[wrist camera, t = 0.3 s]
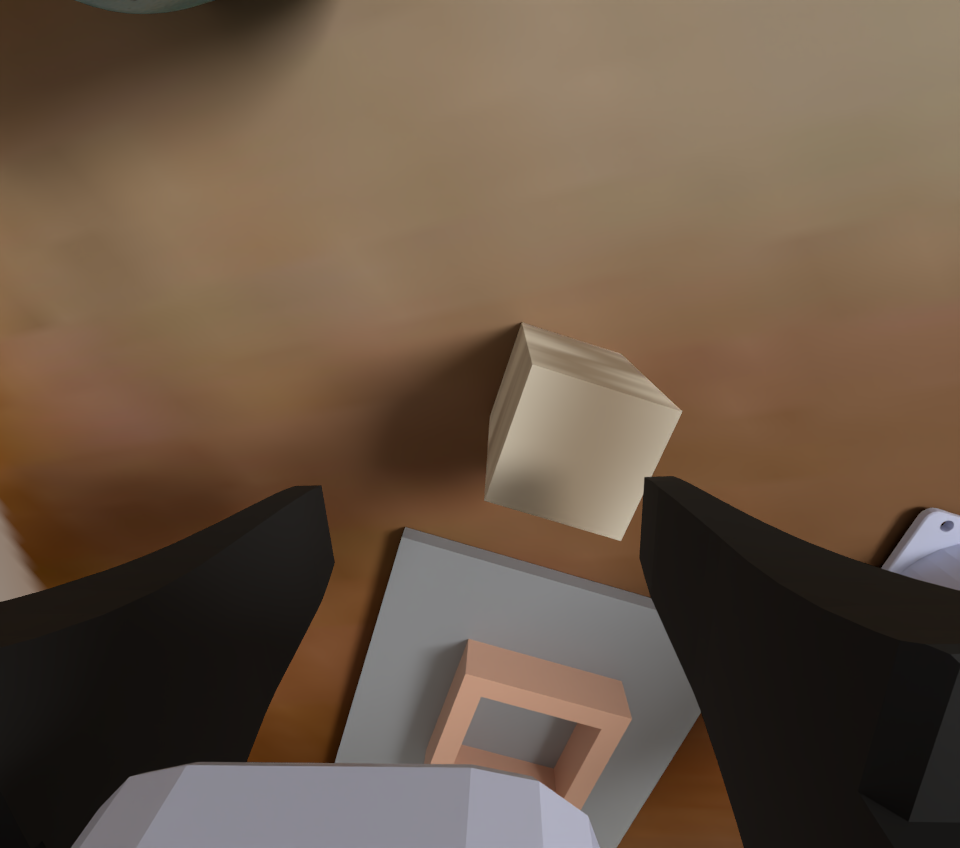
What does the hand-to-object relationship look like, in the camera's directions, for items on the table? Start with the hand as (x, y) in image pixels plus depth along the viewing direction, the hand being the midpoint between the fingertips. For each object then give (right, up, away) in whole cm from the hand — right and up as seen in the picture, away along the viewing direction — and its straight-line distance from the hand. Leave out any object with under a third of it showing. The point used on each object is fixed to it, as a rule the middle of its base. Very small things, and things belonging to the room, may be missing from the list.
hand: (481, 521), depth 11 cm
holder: (+2, -12, +14) cm, 19 cm away
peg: (+3, +4, +9) cm, 10 cm away
